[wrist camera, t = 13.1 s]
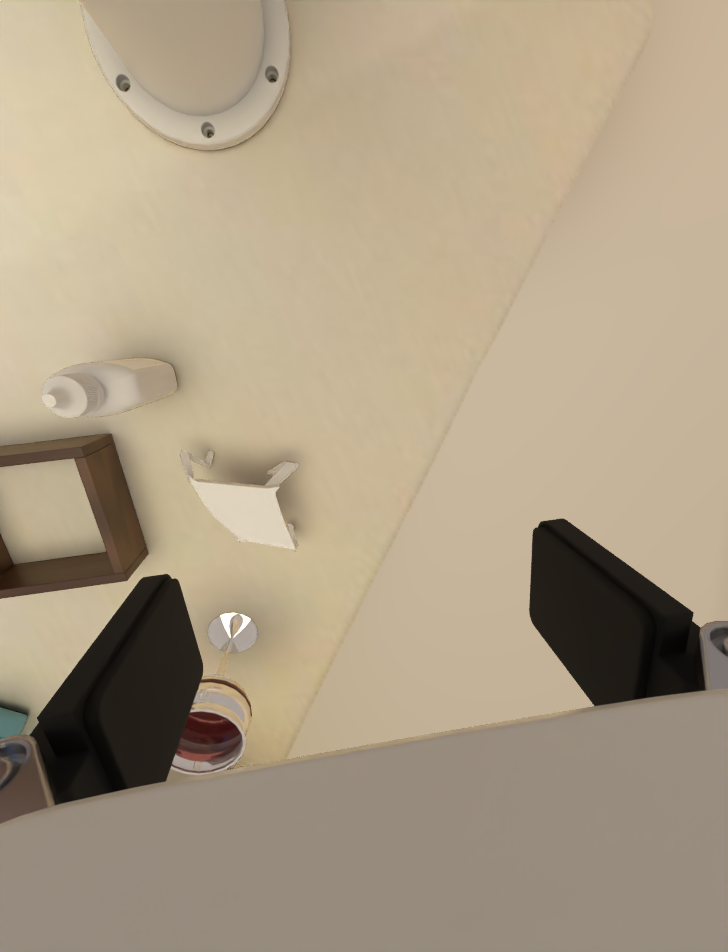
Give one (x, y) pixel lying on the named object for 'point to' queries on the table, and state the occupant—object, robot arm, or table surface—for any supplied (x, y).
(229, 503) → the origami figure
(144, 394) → the eye dropper bottle
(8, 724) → the data package
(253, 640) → the wineglass
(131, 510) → the square wooden box frame
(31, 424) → the table surface
